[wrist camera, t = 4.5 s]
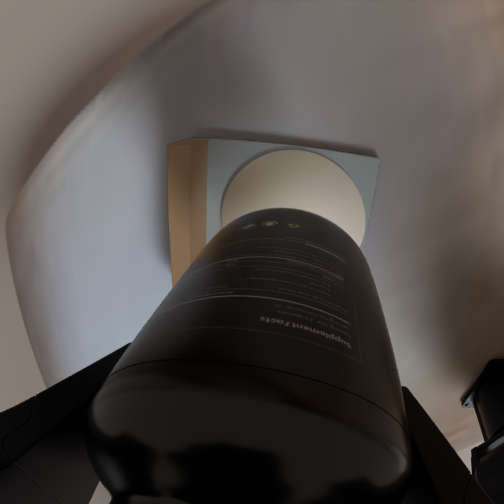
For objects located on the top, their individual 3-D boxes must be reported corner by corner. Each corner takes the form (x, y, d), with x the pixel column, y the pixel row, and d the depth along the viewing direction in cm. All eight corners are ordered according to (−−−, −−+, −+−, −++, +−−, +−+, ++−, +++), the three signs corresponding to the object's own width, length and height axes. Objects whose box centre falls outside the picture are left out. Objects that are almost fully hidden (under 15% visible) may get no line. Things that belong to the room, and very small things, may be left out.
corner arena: (344, 315, 21) (347, 348, 18) (193, 292, 23) (175, 321, 20) (378, 157, 16) (393, 168, 13) (192, 137, 18) (167, 144, 15)
